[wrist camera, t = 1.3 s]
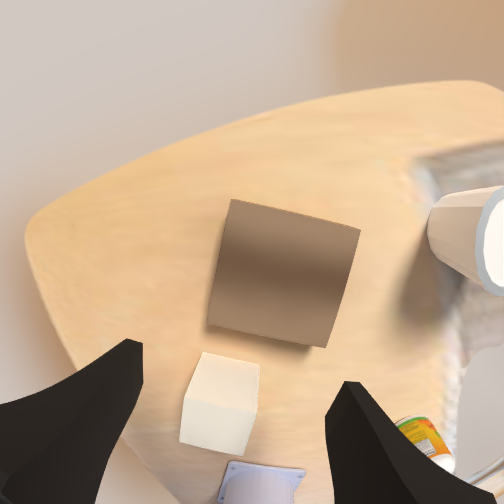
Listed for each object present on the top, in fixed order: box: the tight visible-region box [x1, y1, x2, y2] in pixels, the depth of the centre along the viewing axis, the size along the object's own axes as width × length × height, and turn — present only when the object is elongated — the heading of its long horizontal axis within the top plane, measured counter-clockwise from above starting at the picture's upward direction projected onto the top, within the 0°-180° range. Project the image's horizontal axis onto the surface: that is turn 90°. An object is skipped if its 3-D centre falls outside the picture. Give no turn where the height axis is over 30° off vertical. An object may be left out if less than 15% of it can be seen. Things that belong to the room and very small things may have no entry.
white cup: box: [427, 185, 504, 296], centre depth 16 cm, size 7×7×7 cm
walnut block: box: [207, 199, 361, 348], centre depth 19 cm, size 8×8×3 cm
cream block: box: [179, 352, 260, 456], centre depth 19 cm, size 4×4×6 cm
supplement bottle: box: [395, 414, 455, 475], centre depth 18 cm, size 5×5×10 cm
